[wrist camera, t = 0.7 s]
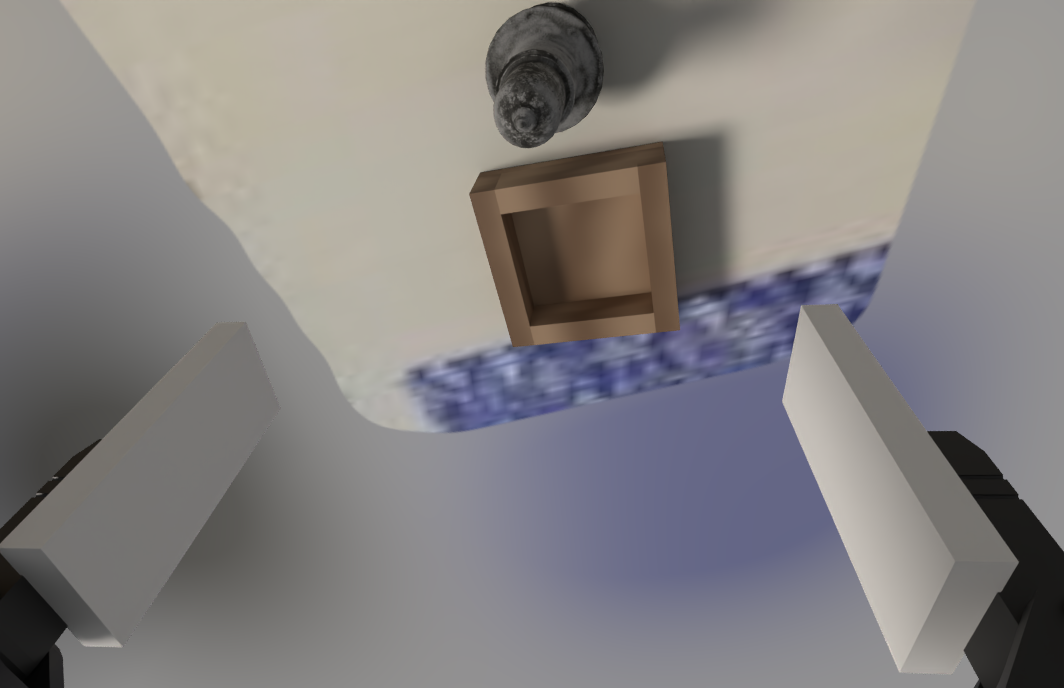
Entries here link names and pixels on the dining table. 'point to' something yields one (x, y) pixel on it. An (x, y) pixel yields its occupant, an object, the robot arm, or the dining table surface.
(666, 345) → the dining table surface
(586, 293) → the walnut holder
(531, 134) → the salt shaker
